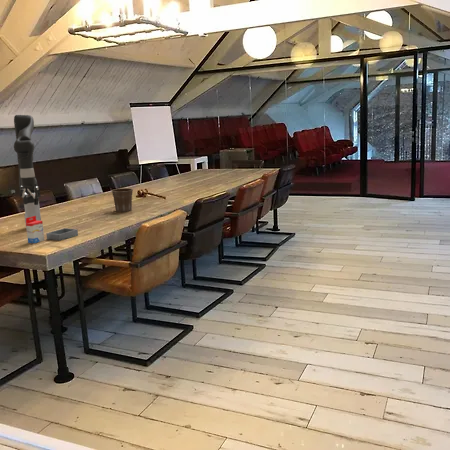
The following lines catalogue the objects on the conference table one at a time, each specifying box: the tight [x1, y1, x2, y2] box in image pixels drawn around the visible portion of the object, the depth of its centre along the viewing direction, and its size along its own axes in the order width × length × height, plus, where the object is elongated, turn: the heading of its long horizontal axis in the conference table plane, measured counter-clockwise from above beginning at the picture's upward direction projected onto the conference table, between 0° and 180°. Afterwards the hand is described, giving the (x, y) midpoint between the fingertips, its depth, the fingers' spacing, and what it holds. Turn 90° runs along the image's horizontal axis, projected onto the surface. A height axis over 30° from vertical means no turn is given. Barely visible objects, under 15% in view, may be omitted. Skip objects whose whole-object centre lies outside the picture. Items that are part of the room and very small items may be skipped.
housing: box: [46, 227, 79, 242], centre depth 293 cm, size 11×15×4 cm
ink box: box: [25, 216, 45, 244], centre depth 283 cm, size 8×5×15 cm, turn 158°
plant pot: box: [111, 187, 134, 213], centre depth 373 cm, size 16×16×16 cm
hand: (31, 204), depth 280 cm, fingers open, 8 cm apart
